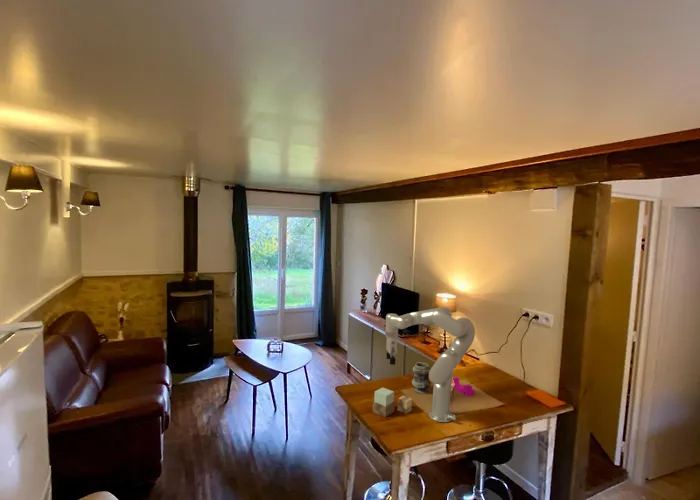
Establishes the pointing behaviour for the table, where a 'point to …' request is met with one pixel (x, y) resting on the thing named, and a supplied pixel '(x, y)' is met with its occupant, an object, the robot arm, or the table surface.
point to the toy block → (463, 388)
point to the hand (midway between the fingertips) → (390, 361)
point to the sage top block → (384, 396)
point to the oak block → (404, 404)
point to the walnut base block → (383, 409)
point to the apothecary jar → (421, 377)
